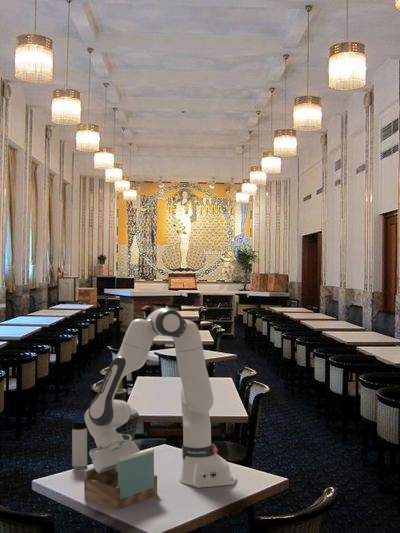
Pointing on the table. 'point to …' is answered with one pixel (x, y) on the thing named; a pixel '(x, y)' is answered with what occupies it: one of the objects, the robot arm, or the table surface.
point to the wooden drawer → (111, 489)
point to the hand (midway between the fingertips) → (126, 475)
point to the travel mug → (79, 444)
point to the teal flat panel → (135, 473)
